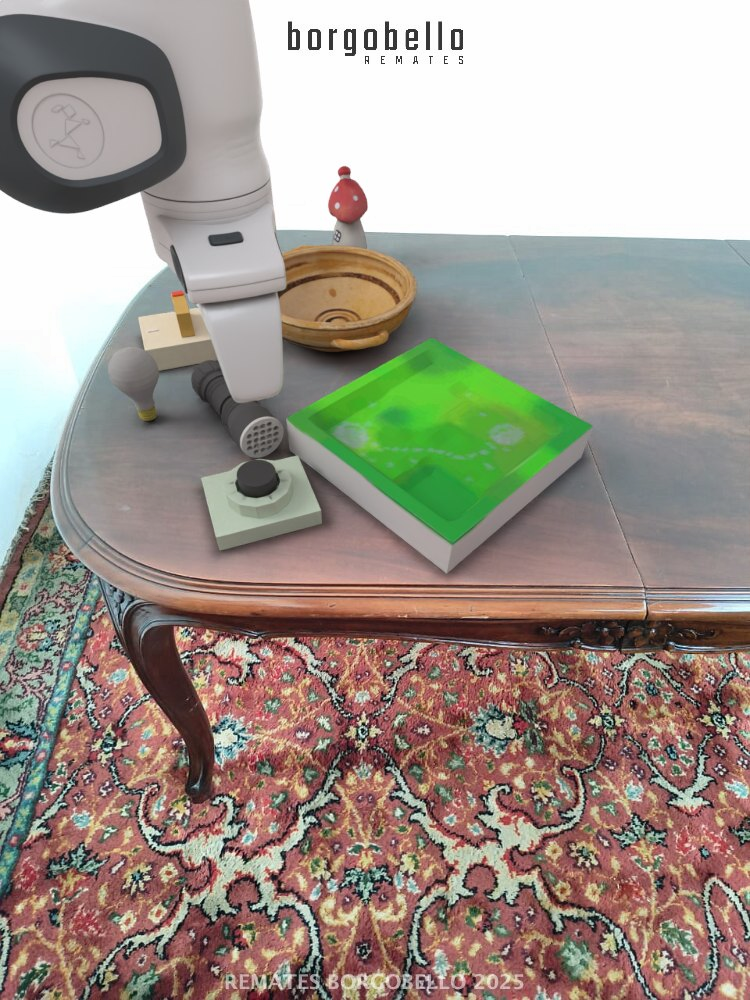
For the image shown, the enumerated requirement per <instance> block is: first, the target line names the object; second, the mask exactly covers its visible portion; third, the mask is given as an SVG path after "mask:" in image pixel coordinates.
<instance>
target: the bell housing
mask: <svg viewBox="0 0 750 1000" xmlns="http://www.w3.org/2000/svg"><path fill="white" fill-rule="evenodd" d="M255 460H265V461H268V462H270V463H271V464H272V465H273V466H274V467H275V470H276V477H277V487H276V489H275V490H274V491H273V492H272V493H271V494H269V495H267V496H265V497H260V498H251V497H248V496H245V495H244V494H243V493H242V492H241V491H240V489H239V485H238V480H237V471H238V469H239V467H240V466H241V465H243V464H244V463H246V462H248V461H249V460H248V461H243V462H240V464H238V465H237V466H235V467H234V468H232V469H230V470H227V471H224V472H219V473H216V474H211V475H207V476H202V477H201V478H200V480H201V483H202V488H203V492H204V496H205V500H206V504H207V508H208V511H209V515H210V519H211V524H212V527H213V533H214V535H215V539H216V544H217V547H218V550H219V552H220V551H224V550H229V549H233V548H236V547H240V546H244V545H248V544H251V543H254V542H259V541H262V540H266V539H270V538H274V537H277V536H282V535H285V534H288V533H292V532H296V531H300V530H304V529H307V528H312V527H315V526H319V525H322V524H323V517H322V516H323V515H322V509H321V506H320V504H319V502H318V499H317V497H316V494H315V492H314V490H313V487H312V484H311V482H310V480H309V478H308V476H307V473H306V471H305V469H304V466H303V464H302V460H301V459H300V458H299V456H298V455H297V456H296V455H293V456H289V457H284V458H280V459H276V460H271V459H264V458H255Z"/></svg>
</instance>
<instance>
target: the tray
mask: <svg viewBox="0 0 750 1000" xmlns="http://www.w3.org/2000/svg"><path fill="white" fill-rule="evenodd" d="M285 418H286V428H287V439H288V447H289V448H288V449H289V451H290V452H291V453H292V454H294V456H297V455H298V456H299V459H300V461H302V462H304V463H305V464H306V465H308V466H309V467H310V468H312V469H313V470H314V471H315V472H316V473H318V474H319V475H320V476H322V477H323V478H324V479H326V480H327V481H328V482H329V483H331V484H332V485H333V486H335V487H336V488H337V489H338V490H340V491H341V492H342V493H343V494H344V495H346V496H347V497H348V498H349V499H351V500H352V501H353V502H354V503H356V504H357V505H359V506H360V507H361V508H362V509H364V510H365V511H366V512H367V513H369V515H371V516H373V517H374V518H375V519H376V520H378V521H379V522H380V523H381V524H383V525H384V526H385V527H386V528H388V529H389V530H390V531H392V533H394V534H395V535H396V536H397V537H399V538H400V539H402V540H403V541H404V542H406V544H408V545H409V546H411V547H412V548H413V549H414V550H416V551H417V552H418V553H420V554H421V555H422V556H423V557H424V558H426V559H427V560H429V562H431V563H432V564H433V565H435V566H436V567H438V569H440V570H441V571H442V572H444V573H445V575H446V574H448V573H449V572H451V571H452V570H453V569H454V568H455V567H457V566H458V565H459V564H460V563H461V562H462V561H464V559H465V558H467V557H468V556H469V555H470V554H471V553H472V552H473V551H475V550H476V549H477V548H478V547H479V546H481V545H482V544H483V543H485V541H487V540H488V539H489V538H490V537H491V536H492V535H494V534H495V533H496V532H497V531H498V530H499V529H500V528H502V527H503V526H504V525H505V524H506V523H507V522H509V521H510V520H511V519H512V518H513V517H514V516H515V515H516V514H519V512H520V511H521V510H522V509H523V508H525V507H526V506H527V505H528V504H529V503H531V502H532V501H533V500H534V499H535V498H536V497H538V496H539V494H541V493H542V492H543V491H545V489H547V488H548V487H549V486H550V485H551V484H553V483H554V482H555V481H556V480H557V479H558V478H560V477H561V476H562V475H563V474H564V473H565V472H566V471H568V470H569V469H570V468H571V467H572V466H573V465H575V464H576V463H577V462H578V461H579V460H581V459H582V457H583V454H584V451H585V449H586V446H587V444H588V442H589V440H590V436H591V434H592V430H593V428H594V425H593V424H590V423H589V422H587V421H585V420H583V419H581V418H579V417H578V416H576V415H575V414H573V413H570V412H569V411H566V410H565V409H563V408H561V407H560V406H558V405H556V404H555V403H552V402H550V401H549V400H547V399H545V398H543V397H541V396H539V395H538V394H536V393H534V392H532V391H530V390H528V389H527V388H524V387H523V386H521V385H520V384H518V383H515V382H514V381H512V380H510V379H508V378H506V377H505V376H503V375H501V374H499V373H497V372H495V371H494V370H492V369H490V368H488V367H487V366H485V365H483V364H481V363H479V362H477V361H475V360H473V359H471V358H469V357H468V356H466V355H464V354H462V353H460V351H457V350H456V349H453V348H451V347H449V346H448V345H446V344H444V343H442V342H440V341H439V340H437V339H435V338H433V337H430V338H429V339H427V340H425V341H423V342H421V343H419V344H417V345H416V346H414V347H412V348H410V349H408V350H407V351H405V352H403V353H402V354H401V353H400V354H399V355H397V356H396V357H394V358H392V359H391V360H388V361H386V362H385V363H383V364H381V365H379V366H378V367H376V368H373V369H372V370H370V371H369V372H367V373H365V374H363V375H361V376H360V377H358V378H356V379H354V380H352V381H351V382H348V383H347V384H346V385H343V386H341V387H339V388H338V389H336V390H334V391H333V392H331V393H329V394H327V395H325V396H324V397H321V398H320V399H318V400H316V401H314V402H313V403H311V404H309V405H307V406H305V407H303V408H301V409H300V410H298V411H295V412H294V413H293V414H291V415H289V416H288V417H285Z"/></svg>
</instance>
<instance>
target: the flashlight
mask: <svg viewBox="0 0 750 1000" xmlns="http://www.w3.org/2000/svg"><path fill="white" fill-rule="evenodd" d="M190 381H191V387H192V389H193V391H194V392H195V394H196V395H197V396H198V397H199V399H200V400H202V402H204V403H205V404H208V405H209V406H210V408H211V409H212V410H214V411H215V412H216V413H217V414H218V415H219V416H220V417H221V423H222V424H223V426H224V427H225V429H226V430H227V431H228V432H229V434H230V437H231V439H232V440H233V441H234V442H235V443H236V445H237V446H238V447H239V448H240V450H241V451H242V452H243V453H244V454H245V456H247V457H249V458H253V459H261V458H264V457H266V456H268V455H270V454H272V453H273V452H275V450H276V449H277V448H278V447H279V446H280V444H281V443H282V441H283V438H284V426H283V424H282V423H281V422H280V420H279V419H277V417H275V415H274V414H273V413H272V412H271V411H270V410H269V409H268V408H267V407H265V406H263V405H262V404H261V403H260V402H259V400H256V401H251V402H246V403H237V402H235V401H234V400H233V398H232V396H231V394H230V392H229V390H228V387H227V384H226V382H225V379H224V376H223V373H222V370H221V367H220V364H219V362H218V360H216V361H214V360H207V361H204V362H202V363H199V364H196V366H195V367H194V369H193V371H192V372H191V377H190Z"/></svg>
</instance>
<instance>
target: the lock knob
mask: <svg viewBox="0 0 750 1000" xmlns="http://www.w3.org/2000/svg"><path fill="white" fill-rule="evenodd" d="M185 294H186V293H185V291H184V290H176V291H171V293H170V297H171V301H172V305H173V309H174V311H175V313H176V317H177V321H178V325H179V329H180V333H181V337H188V336H194V335H195V333H194V328H193V324H192V320H191V315H190V311H189V309H190V308H189V304H188V301H187V298H186V295H185Z"/></svg>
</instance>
